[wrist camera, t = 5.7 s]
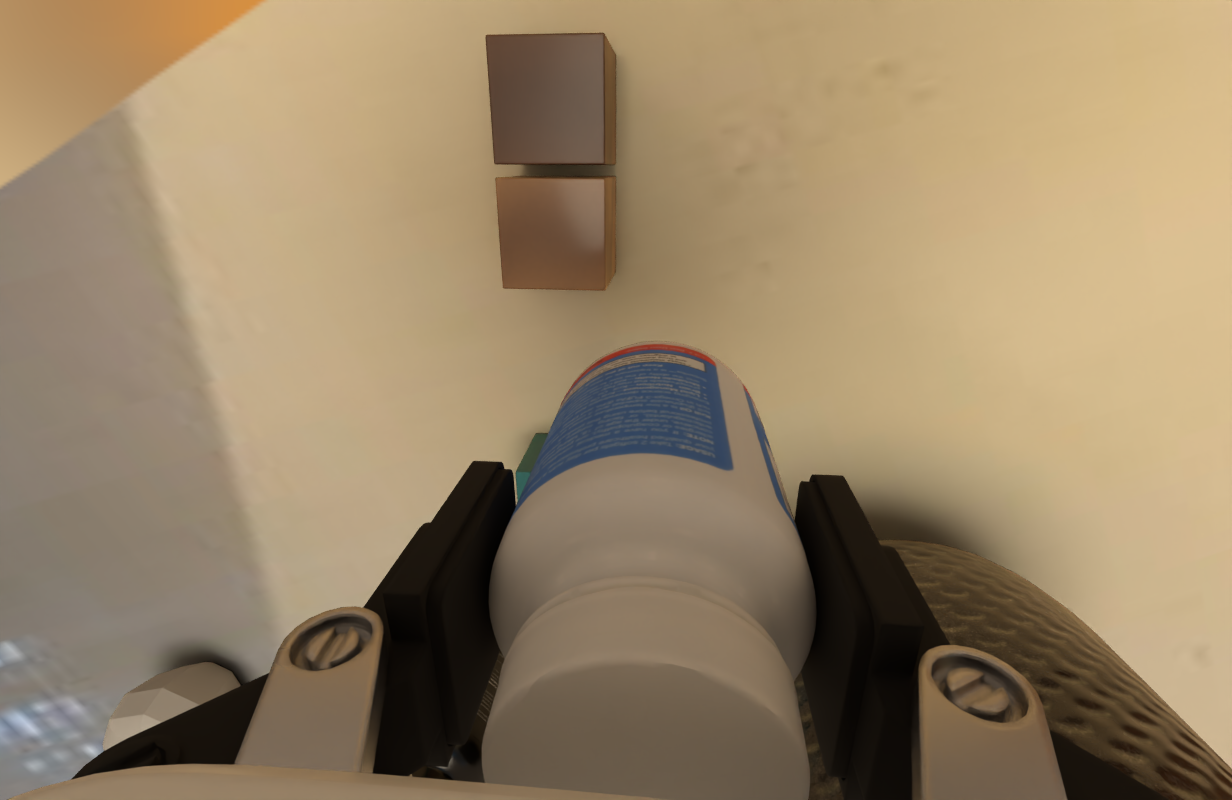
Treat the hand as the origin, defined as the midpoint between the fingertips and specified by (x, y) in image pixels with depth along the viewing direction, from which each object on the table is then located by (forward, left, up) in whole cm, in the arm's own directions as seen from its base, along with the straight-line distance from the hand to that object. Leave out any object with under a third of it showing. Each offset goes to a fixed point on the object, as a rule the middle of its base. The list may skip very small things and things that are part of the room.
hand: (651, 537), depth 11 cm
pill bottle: (0, 0, -5) cm, 5 cm away
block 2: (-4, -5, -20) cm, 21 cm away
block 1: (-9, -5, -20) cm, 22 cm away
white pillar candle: (+28, -32, -20) cm, 47 cm away
